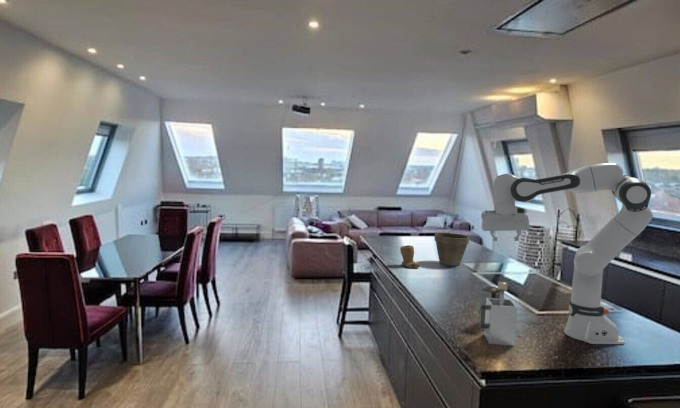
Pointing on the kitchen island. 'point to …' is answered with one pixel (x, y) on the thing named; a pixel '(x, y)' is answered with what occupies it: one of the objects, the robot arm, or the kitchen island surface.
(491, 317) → the press
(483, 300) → the coffee box
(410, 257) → the brown boot
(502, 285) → the plunger
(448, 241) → the plant pot
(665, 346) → the kitchen island surface
